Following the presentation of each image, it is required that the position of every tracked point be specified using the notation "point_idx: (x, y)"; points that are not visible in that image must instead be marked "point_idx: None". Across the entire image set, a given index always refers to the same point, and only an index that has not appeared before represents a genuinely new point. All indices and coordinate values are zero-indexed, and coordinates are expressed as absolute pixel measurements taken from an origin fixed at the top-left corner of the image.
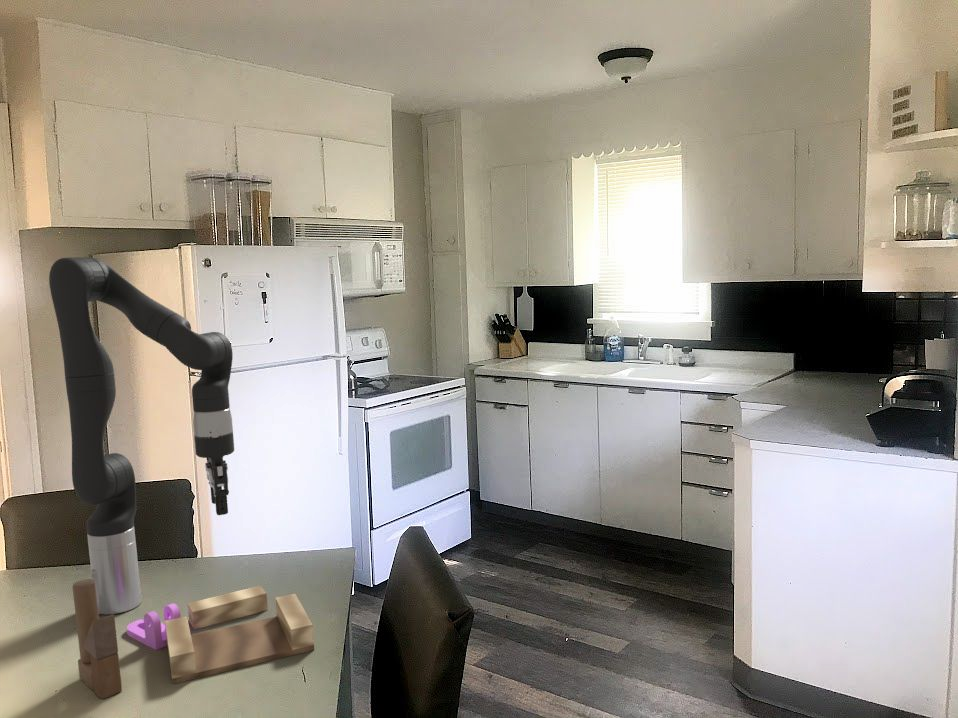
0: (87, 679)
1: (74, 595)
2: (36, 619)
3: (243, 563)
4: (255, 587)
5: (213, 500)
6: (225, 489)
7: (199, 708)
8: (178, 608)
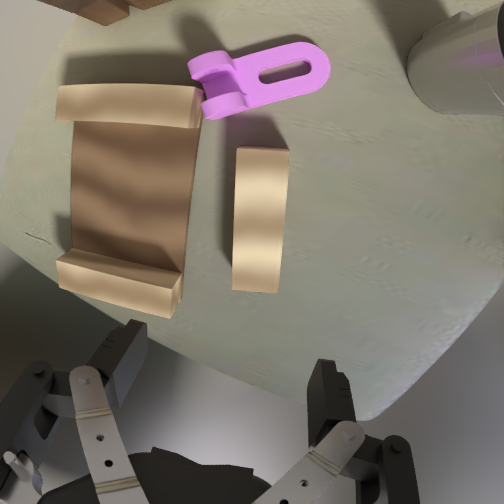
0: None
1: None
2: None
3: (452, 307)
4: (274, 284)
5: (317, 370)
6: (43, 412)
7: (25, 116)
8: (207, 116)
